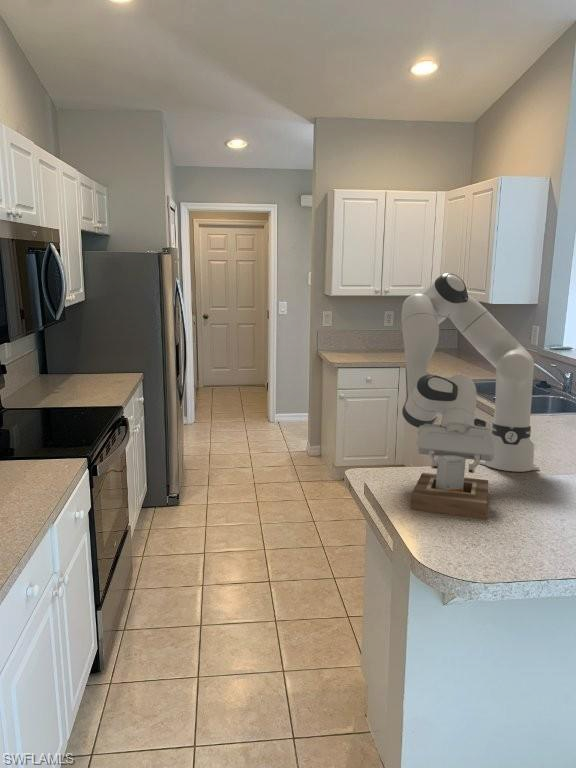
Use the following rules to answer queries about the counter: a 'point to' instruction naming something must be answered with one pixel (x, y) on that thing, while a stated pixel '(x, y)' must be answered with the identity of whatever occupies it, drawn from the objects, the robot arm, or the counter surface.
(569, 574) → the counter surface
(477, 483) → the walnut socket board
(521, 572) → the counter surface
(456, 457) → the skincare box
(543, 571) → the counter surface
